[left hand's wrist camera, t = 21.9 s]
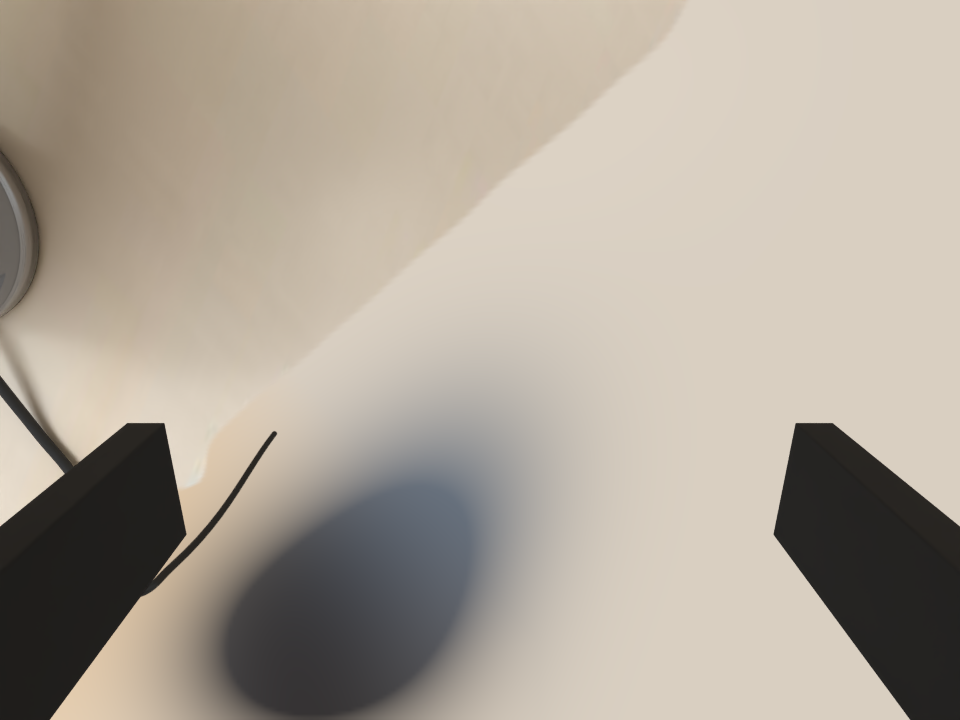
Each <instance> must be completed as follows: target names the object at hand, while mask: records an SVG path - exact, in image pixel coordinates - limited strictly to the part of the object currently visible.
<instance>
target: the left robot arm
mask: <svg viewBox="0 0 960 720" xmlns="http://www.w3.org/2000/svg"><path fill="white" fill-rule="evenodd" d="M38 253H39V236H38V229H37V223H36V218H35V214H34V211H33V208H32V205H31V202H30V199H29V197H28V194H27V192H26V190H25V188H24V186H23V184H22V182H21V180H20V178H19V177H18V175H17V173H16V172H15V170H14V169H13V167H12V166H11V164H10V163H9V162H8V160H7V159H6V157H5V156H4V155H3V154H2V153H1V151H0V317H1V316H3V315H4V314H6V313H7V312H8V311H10V310H11V309H12V308H13V307H14V306H15V305H16V304H17V303H18V302H19V301H20V300H21V299H22V297H23V296H24V295H25V293H26V291H27V290H28V288H29V286H30V284H31V282H32V280H33V277H34V274H35V271H36V267H37V261H38ZM0 395H1V397H2V398H3V399H4V400H5V402H6V403H7V404H8V405H9V407H10V408H11V409H12V410H13V412H14V413H15V414H16V415H17V416H18V418H19V419H20V420H21V421H22V423H23V424H24V425H25V426H26V428H27V429H28V430H29V431H30V433H31V434H32V435H33V436H34V438H35V439H36V440H37V441H38V442H39V444H40V445H41V446H42V447H43V448H44V449H45V451H46V452H47V453H48V454H49V455H50V456H51V457H52V459H53V460H54V461H55V462H56V463H57V464H58V466H59V467H60V468H61V469H62V471H63V472H64V473H65V474H64V475H63V476H62V477H61V478H59V479H58V480H57V481H56V482H54V483H53V484H52V485H51V486H50V487H48V488H47V489H46V490H45V491H43V492H42V493H41V494H40V495H38V496H37V497H36V498H35V499H33V500H32V501H31V502H30V503H29V504H27V505H26V506H25V507H24V508H22V509H21V510H20V511H19V512H17V513H16V514H15V515H14V516H13V517H11V518H10V519H9V520H8V521H6V522H5V523H4V524H3V525H1V526H0V720H50V719H51V717H52V716H53V715H54V713H55V712H56V710H57V709H58V708H59V706H60V705H61V704H62V702H63V701H64V700H65V698H66V697H67V696H68V694H69V693H70V692H71V690H72V689H73V688H74V686H75V685H76V683H77V682H78V681H79V679H80V678H81V677H82V675H83V674H84V673H85V671H86V670H87V669H88V667H89V666H90V664H91V663H92V662H93V660H94V659H95V658H96V656H97V655H98V654H99V652H100V651H101V650H102V648H103V647H104V645H105V644H106V643H107V641H108V640H109V639H110V637H111V636H112V635H113V633H114V632H115V631H116V629H117V628H118V626H119V625H120V624H121V622H122V621H123V620H124V618H125V617H126V616H127V614H128V613H129V612H130V610H131V609H132V608H133V606H134V605H135V604H136V602H137V601H138V599H139V598H140V597H142V596H145V595H147V594H149V593H150V592H152V591H153V590H155V589H156V588H157V587H158V586H159V585H160V584H161V583H162V582H163V581H164V580H165V579H166V578H167V577H168V575H169V574H170V573H171V572H172V571H174V570H175V569H176V568H177V567H178V566H179V565H180V564H181V563H182V562H183V561H184V560H185V559H186V558H187V557H188V556H189V555H190V554H191V553H192V552H193V551H194V550H195V549H196V548H197V546H198V545H199V544H200V543H201V542H202V541H203V540H204V539H205V538H206V536H207V535H208V534H209V533H210V532H211V530H212V529H213V528H214V527H215V525H216V524H217V523H218V521H219V520H220V519H221V518H222V516H223V515H224V513H225V512H226V511H227V509H228V508H229V507H230V505H231V504H232V502H233V501H234V499H235V498H236V496H237V495H238V493H239V492H240V490H241V488H242V487H243V485H244V484H245V482H246V480H247V479H248V477H249V476H250V474H251V473H252V471H253V469H254V468H255V466H256V465H257V463H258V461H259V460H260V458H261V457H262V455H263V454H264V452H265V451H266V449H267V448H268V446H269V445H270V443H271V442H272V441H273V439H274V438H275V437H276V435H277V432H276V431H273V432H272V433H271V434H270V436H269V437H268V438H267V440H266V441H265V442H264V444H263V445H262V447H261V448H260V450H259V451H258V453H257V454H256V456H255V457H254V459H253V460H252V462H251V463H250V465H249V466H248V468H247V469H246V471H245V472H244V474H243V476H242V477H241V479H240V480H239V482H238V483H237V485H236V486H235V488H234V489H233V491H232V492H231V494H230V495H229V497H228V498H227V499H226V501H225V502H224V504H223V505H222V506H221V508H220V509H219V511H218V512H217V513H216V514H215V516H214V517H213V518H212V519H211V521H210V522H209V523H208V525H207V526H206V527H205V528H204V529H203V530H202V531H201V532H200V534H199V535H198V536H197V537H196V538H195V539H194V540H193V541H192V542H191V543H190V544H189V545H188V546H187V547H186V548H185V549H184V551H182V552H181V553H180V554H179V555H178V556H177V557H176V558H175V559H174V560H173V561H172V562H171V563H170V564H169V565H167V566H166V567H165V568H164V569H163V570H162V571H161V572H160V573H159V574H158V572H159V571H160V570H161V568H162V567H163V566H164V564H165V563H166V562H167V560H168V559H169V557H170V556H171V555H172V553H173V552H174V551H175V549H176V548H177V547H178V545H179V544H180V543H181V541H182V540H183V539H184V537H185V536H186V530H185V525H184V520H183V515H182V510H181V505H180V500H179V495H178V490H177V485H176V480H175V475H174V470H173V465H172V460H171V455H170V449H169V444H168V439H167V434H166V429H165V424H164V423H127V424H126V425H125V426H123V427H122V428H121V429H120V430H118V431H117V432H116V433H115V434H114V435H112V436H111V437H110V438H109V439H107V440H106V441H105V442H104V443H102V444H101V445H100V446H99V447H98V448H96V449H95V450H94V451H93V452H91V453H90V454H89V455H88V456H86V457H85V458H84V459H83V460H82V461H80V462H79V463H78V464H77V465H75V466H74V467H73V465H72V464H71V463H70V462H69V460H68V459H67V458H66V457H65V455H64V454H63V453H62V452H61V451H60V450H59V448H58V447H57V446H56V445H55V444H54V443H53V442H52V440H51V439H50V438H49V437H48V436H47V434H46V433H45V432H44V431H43V429H42V428H41V427H40V425H39V424H38V423H37V422H36V420H35V419H34V418H33V417H32V415H31V414H30V413H29V412H28V410H27V409H26V408H25V407H24V405H23V404H22V403H21V402H20V400H19V399H18V398H17V397H16V395H15V394H14V393H13V391H12V390H11V389H10V388H9V386H8V385H7V384H6V383H5V381H4V380H3V379H2V377H1V376H0ZM774 536H775V537H776V539H777V540H778V541H779V543H780V544H781V545H782V547H783V548H784V549H785V551H786V552H787V553H788V555H789V556H790V557H791V559H792V560H793V562H794V563H795V564H796V566H797V567H798V568H799V570H800V571H801V572H802V574H803V575H804V576H805V578H806V579H807V581H808V582H809V583H810V585H811V586H812V587H813V589H814V590H815V591H816V593H817V594H818V595H819V597H820V598H821V599H822V601H823V602H824V604H825V605H826V606H827V608H828V609H829V610H830V612H831V613H832V614H833V616H834V617H835V618H836V620H837V621H838V622H839V624H840V625H841V626H842V628H843V629H844V631H845V632H846V633H847V635H848V636H849V637H850V639H851V640H852V641H853V643H854V644H855V645H856V647H857V648H858V650H859V651H860V652H861V654H862V655H863V656H864V658H865V659H866V660H867V662H868V663H869V664H870V666H871V667H872V669H873V670H874V671H875V673H876V674H877V675H878V677H879V678H880V679H881V681H882V682H883V683H884V685H885V686H886V687H887V689H888V690H889V692H890V693H891V694H892V696H893V697H894V698H895V700H896V701H897V702H898V704H899V705H900V706H901V708H902V709H903V710H904V712H905V713H906V715H907V716H908V717H909V719H910V720H960V526H959V525H957V524H956V523H955V522H954V521H952V520H951V519H950V518H949V517H947V516H946V515H945V514H944V513H943V512H941V511H940V510H939V509H938V508H936V507H935V506H934V505H933V504H931V503H930V502H929V501H928V500H926V499H925V498H924V497H923V496H921V495H920V494H919V493H918V492H917V491H915V490H914V489H913V488H912V487H910V486H909V485H908V484H907V483H906V482H904V481H903V480H902V479H901V478H899V477H898V476H897V475H896V474H894V473H893V472H892V471H891V470H890V469H888V468H887V467H886V466H885V465H883V464H882V463H881V462H880V461H878V460H877V459H876V458H875V457H874V456H872V455H871V454H870V453H869V452H867V451H866V450H865V449H864V448H862V447H861V446H860V445H859V444H858V443H856V442H855V441H854V440H853V439H851V438H850V437H849V436H848V435H846V434H845V433H844V432H843V431H842V430H840V429H839V428H838V427H837V426H835V425H834V424H833V423H796V424H795V429H794V434H793V439H792V444H791V449H790V455H789V460H788V465H787V470H786V475H785V480H784V485H783V490H782V495H781V500H780V505H779V510H778V515H777V520H776V525H775V530H774ZM157 574H158V575H157ZM156 575H157V576H156ZM155 576H156V578H155ZM154 578H155V579H154Z"/></svg>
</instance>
